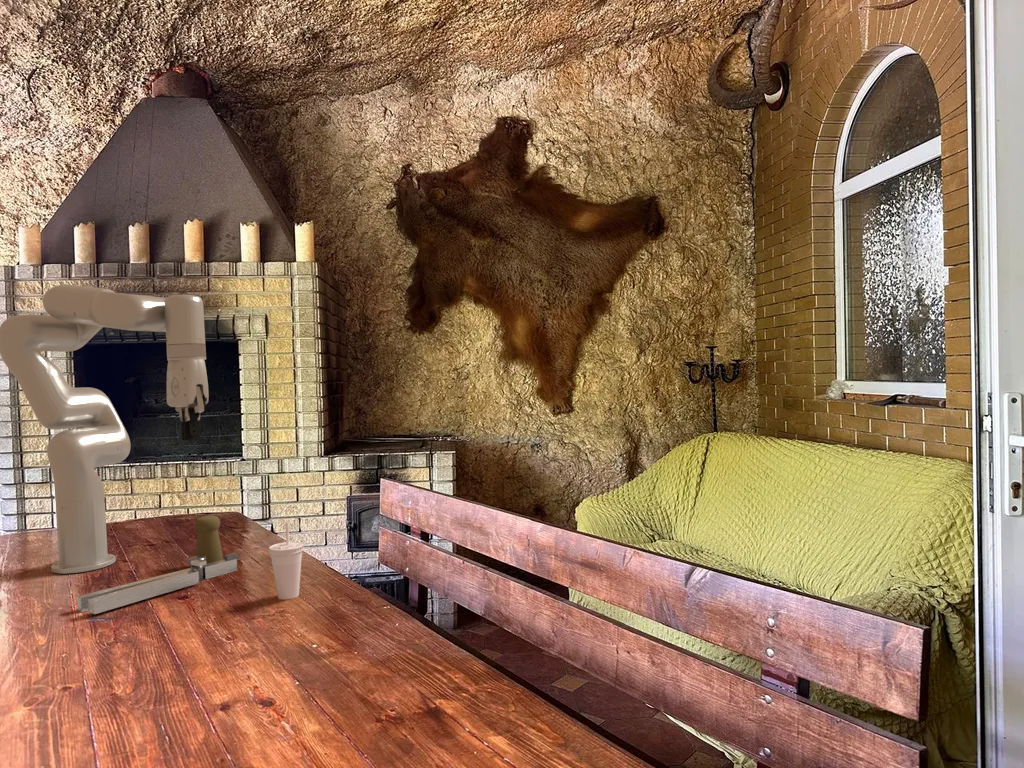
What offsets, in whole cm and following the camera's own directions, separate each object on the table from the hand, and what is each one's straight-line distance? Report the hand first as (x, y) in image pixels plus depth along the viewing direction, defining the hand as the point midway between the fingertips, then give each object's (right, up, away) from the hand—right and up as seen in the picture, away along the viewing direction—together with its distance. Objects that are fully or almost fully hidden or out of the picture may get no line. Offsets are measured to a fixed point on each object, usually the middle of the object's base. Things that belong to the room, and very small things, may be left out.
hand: (191, 439), depth 148 cm
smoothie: (+26, -29, -16) cm, 42 cm away
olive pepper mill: (0, -29, +8) cm, 30 cm away
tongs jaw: (-2, -29, -12) cm, 32 cm away
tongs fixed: (-1, -29, -8) cm, 31 cm away
